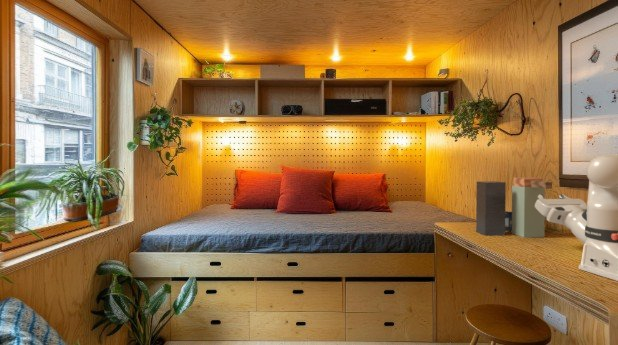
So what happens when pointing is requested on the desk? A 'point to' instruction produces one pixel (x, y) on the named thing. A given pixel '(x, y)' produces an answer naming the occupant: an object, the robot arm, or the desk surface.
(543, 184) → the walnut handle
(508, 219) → the vhs cassette tape
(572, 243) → the desk surface
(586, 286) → the desk surface
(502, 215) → the tower
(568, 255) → the desk surface
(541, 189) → the sage tower
